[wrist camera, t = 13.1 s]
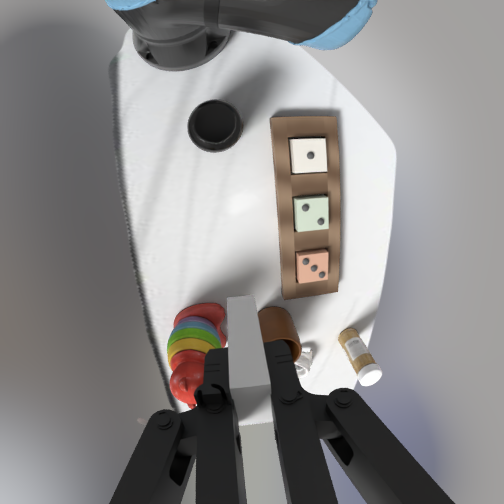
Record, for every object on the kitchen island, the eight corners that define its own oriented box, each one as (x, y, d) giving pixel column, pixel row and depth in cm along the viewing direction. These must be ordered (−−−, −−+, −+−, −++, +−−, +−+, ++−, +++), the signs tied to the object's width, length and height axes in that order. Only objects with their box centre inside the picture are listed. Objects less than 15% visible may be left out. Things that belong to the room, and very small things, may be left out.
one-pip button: (287, 139, 40) (292, 139, 37) (318, 138, 40) (325, 138, 37) (290, 171, 41) (295, 173, 38) (320, 169, 42) (327, 171, 39)
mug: (295, 347, 55) (305, 379, 46) (259, 355, 55) (264, 388, 46) (289, 301, 50) (301, 332, 42) (248, 309, 50) (253, 342, 41)
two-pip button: (291, 196, 43) (296, 200, 40) (321, 193, 43) (328, 197, 40) (293, 226, 45) (298, 232, 42) (322, 223, 45) (328, 229, 42)
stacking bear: (226, 347, 53) (229, 419, 37) (177, 347, 52) (164, 417, 36) (224, 302, 49) (225, 374, 33) (169, 302, 48) (149, 372, 32)
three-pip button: (294, 249, 46) (299, 256, 43) (322, 245, 47) (328, 252, 44) (295, 275, 48) (299, 284, 45) (322, 271, 48) (328, 280, 46)
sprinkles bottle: (336, 345, 56) (358, 389, 43) (338, 329, 54) (362, 373, 42) (355, 341, 56) (380, 383, 44) (358, 325, 54) (385, 367, 42)
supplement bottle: (230, 157, 40) (232, 162, 29) (188, 144, 39) (173, 143, 28) (246, 116, 38) (254, 105, 27) (203, 102, 36) (194, 86, 25)
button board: (269, 118, 38) (271, 117, 36) (331, 117, 39) (336, 116, 37) (282, 294, 50) (284, 300, 48) (334, 286, 50) (337, 291, 48)
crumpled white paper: (307, 367, 59) (314, 382, 55) (279, 371, 58) (284, 388, 53) (312, 342, 55) (320, 358, 51) (282, 347, 54) (288, 364, 50)
